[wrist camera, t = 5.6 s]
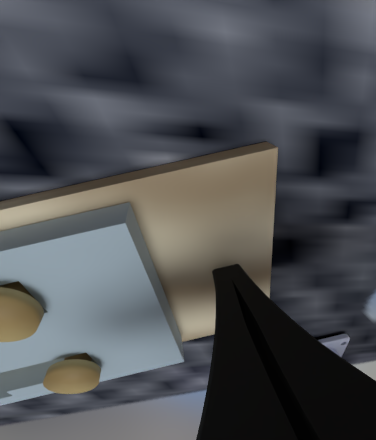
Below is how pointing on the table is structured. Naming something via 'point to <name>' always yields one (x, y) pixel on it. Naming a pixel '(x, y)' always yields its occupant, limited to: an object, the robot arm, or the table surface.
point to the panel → (86, 299)
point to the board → (163, 239)
